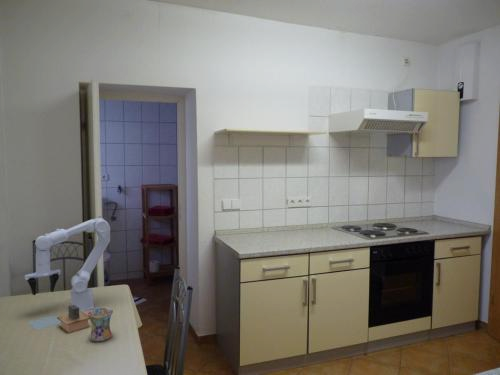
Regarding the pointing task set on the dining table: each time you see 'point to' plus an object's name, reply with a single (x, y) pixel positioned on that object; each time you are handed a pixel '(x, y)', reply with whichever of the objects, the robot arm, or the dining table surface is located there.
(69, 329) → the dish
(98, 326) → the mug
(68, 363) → the dining table surface
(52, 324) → the mat
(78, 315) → the lid
